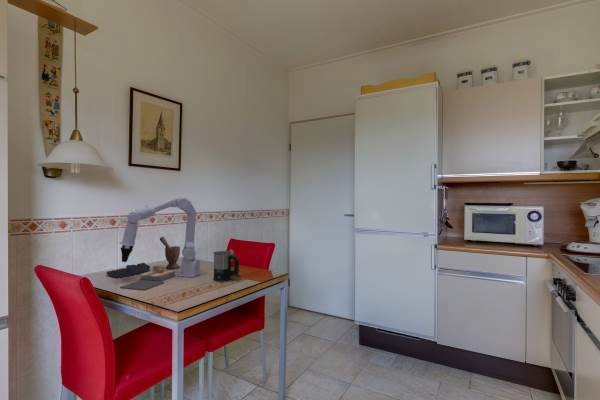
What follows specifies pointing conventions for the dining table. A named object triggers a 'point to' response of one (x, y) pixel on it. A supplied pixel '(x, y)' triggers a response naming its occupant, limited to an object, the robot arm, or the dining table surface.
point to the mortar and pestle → (171, 254)
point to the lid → (157, 272)
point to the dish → (157, 277)
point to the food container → (231, 254)
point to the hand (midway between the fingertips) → (124, 260)
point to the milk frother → (224, 265)
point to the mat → (142, 285)
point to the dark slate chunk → (130, 270)
